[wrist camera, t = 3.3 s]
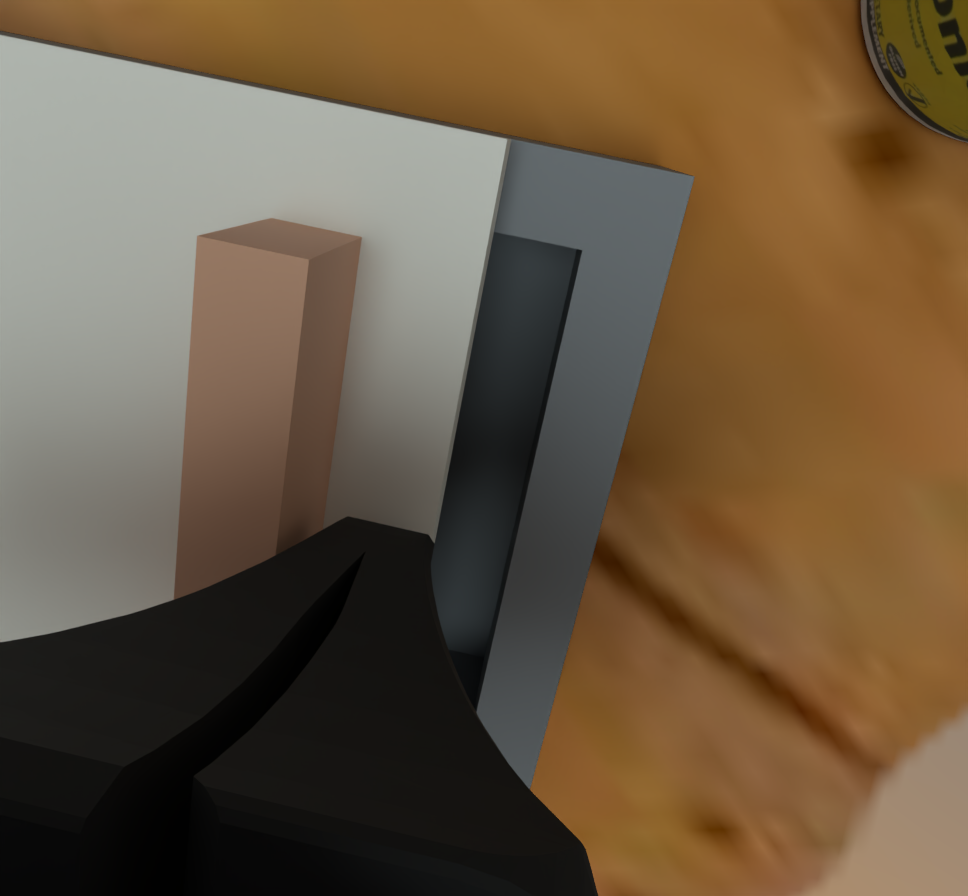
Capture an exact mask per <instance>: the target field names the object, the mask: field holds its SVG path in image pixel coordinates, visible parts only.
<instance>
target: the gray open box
mask: <svg viewBox="0 0 968 896" xmlns="http://www.w3.org/2000/svg"><path fill="white" fill-rule="evenodd" d="M0 35H5V36H10V37H15V38H20V39H25V40H29V41H34V42H39V43H44V44H49V45H54V46H59V47H64V48H68V49H73V50H78V51H83V52H88V53H93V54H98V55H103V56H107V57H112V58H117V59H122V60H127V61H132V62H137V63H142V64H146V65H151V66H156V67H161V68H166V69H171V70H176V71H181V72H185V73H190V74H195V75H200V76H205V77H210V78H215V79H220V80H224V81H229V82H234V83H239V84H244V85H249V86H254V87H258V88H263V89H268V90H273V91H278V92H283V93H288V94H293V95H297V96H302V97H307V98H312V99H317V100H322V101H327V102H332V103H336V104H341V105H346V106H351V107H356V108H361V109H366V110H371V111H375V112H380V113H385V114H390V115H395V116H400V117H405V118H410V119H414V120H419V121H424V122H429V123H434V124H439V125H444V126H449V127H453V128H458V129H463V130H468V131H473V132H478V133H483V134H488V135H492V136H497V137H502V138H507V139H511V144H510V150H509V155H508V160H507V165H506V171H505V176H504V181H503V187H502V192H501V197H500V202H499V208H498V213H497V218H496V223H495V229H494V234H493V239H492V244H491V250H490V255H489V260H488V265H487V271H486V276H485V281H484V286H483V292H482V297H481V302H480V308H479V313H478V318H477V323H476V329H475V334H474V339H473V344H472V350H471V355H470V360H469V365H468V371H467V376H466V381H465V386H464V392H463V397H462V402H461V407H460V413H459V418H458V423H457V429H456V434H455V439H454V444H453V450H452V455H451V460H450V465H449V471H448V476H447V481H446V486H445V492H444V497H443V502H442V507H441V513H440V518H439V523H438V528H437V534H436V539H435V545H434V550H433V555H432V560H431V576H432V586H433V592H434V597H435V602H436V607H437V612H438V617H439V620H440V624H441V628H442V631H443V635H444V638H445V641H446V644H447V647H448V650H449V653H450V656H451V659H452V661H453V664H454V666H455V669H456V671H457V674H458V676H459V678H460V681H461V683H462V685H463V687H464V689H465V692H466V694H467V696H468V698H469V700H470V702H471V703H472V705H473V707H474V709H475V711H476V713H477V715H478V717H479V719H480V720H481V722H482V724H483V726H484V727H485V729H486V730H487V732H488V733H489V735H490V736H491V738H492V739H493V741H494V742H495V744H496V745H497V747H498V748H499V750H500V751H501V753H502V754H503V756H504V757H505V759H506V761H507V762H508V764H509V765H510V766H511V767H512V769H513V770H514V771H515V772H516V773H517V775H518V776H519V777H520V778H521V780H522V781H523V782H524V783H525V785H526V786H527V787H528V788H529V789H530V787H531V783H532V779H533V776H534V772H535V768H536V764H537V761H538V757H539V753H540V750H541V746H542V742H543V738H544V735H545V731H546V727H547V724H548V720H549V716H550V712H551V709H552V705H553V701H554V698H555V694H556V690H557V686H558V683H559V679H560V675H561V671H562V668H563V664H564V660H565V657H566V653H567V649H568V645H569V642H570V638H571V634H572V631H573V627H574V623H575V619H576V616H577V612H578V608H579V605H580V601H581V597H582V593H583V590H584V586H585V582H586V578H587V575H588V571H589V567H590V564H591V560H592V556H593V552H594V549H595V545H596V541H597V538H598V534H599V530H600V526H601V523H602V519H603V515H604V512H605V508H606V504H607V500H608V497H609V493H610V489H611V485H612V482H613V478H614V474H615V471H616V467H617V463H618V459H619V456H620V452H621V448H622V445H623V441H624V437H625V433H626V430H627V426H628V422H629V419H630V415H631V411H632V407H633V404H634V400H635V396H636V392H637V389H638V385H639V381H640V378H641V374H642V370H643V366H644V363H645V359H646V355H647V352H648V348H649V344H650V340H651V337H652V333H653V329H654V326H655V322H656V318H657V314H658V311H659V307H660V303H661V299H662V296H663V292H664V288H665V285H666V281H667V277H668V273H669V270H670V266H671V262H672V259H673V255H674V251H675V247H676V244H677V240H678V236H679V233H680V229H681V225H682V221H683V218H684V214H685V210H686V206H687V203H688V199H689V195H690V192H691V188H692V184H693V180H694V176H691V175H688V174H684V173H681V172H678V171H675V170H672V169H668V168H665V167H662V166H658V165H653V164H648V163H643V162H638V161H633V160H628V159H623V158H619V157H614V156H609V155H604V154H599V153H594V152H589V151H584V150H580V149H575V148H570V147H565V146H560V145H555V144H550V143H545V142H540V141H536V140H531V139H526V138H521V137H516V136H511V135H506V134H501V133H497V132H492V131H487V130H482V129H477V128H472V127H467V126H462V125H458V124H453V123H448V122H443V121H438V120H433V119H428V118H423V117H419V116H414V115H409V114H404V113H399V112H394V111H389V110H384V109H380V108H375V107H370V106H365V105H360V104H355V103H350V102H345V101H341V100H336V99H331V98H326V97H321V96H316V95H311V94H306V93H301V92H297V91H292V90H287V89H282V88H277V87H272V86H267V85H262V84H258V83H253V82H248V81H243V80H238V79H233V78H228V77H223V76H219V75H214V74H209V73H204V72H199V71H194V70H189V69H184V68H180V67H175V66H170V65H165V64H160V63H155V62H150V61H145V60H141V59H136V58H131V57H126V56H121V55H116V54H111V53H106V52H101V51H97V50H92V49H87V48H82V47H77V46H72V45H67V44H62V43H58V42H53V41H48V40H43V39H38V38H33V37H28V36H23V35H19V34H14V33H9V32H4V31H0Z"/></svg>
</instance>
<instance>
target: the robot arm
mask: <svg viewBox="0 0 968 896" xmlns="http://www.w3.org/2000/svg"><path fill="white" fill-rule="evenodd" d="M434 545H435V544H434V542H433V541H432V539H431V538H430V536H429V535H428V534H424V533H420V532H415V531H411V530H407V529H402V528H398V527H393V526H389V525H384V524H380V523H376V522H371V521H367V520H362V519H358V518H354V517H349V516H347V517H345V518H343V519H341V520H339V521H337V522H335V523H334V524H332V525H330V526H328V527H326V528H325V529H323V530H321V531H319V532H318V533H316V534H314V535H312V536H310V537H309V538H307V539H305V540H303V541H301V542H300V543H298V544H296V545H294V546H292V547H290V548H288V549H286V550H285V551H283V552H281V553H279V554H277V555H275V556H273V557H271V558H269V559H268V560H266V561H264V562H261V563H259V564H257V565H255V566H253V567H251V568H248V569H246V570H244V571H242V572H240V573H237V574H235V575H233V576H231V577H229V578H226V579H224V580H222V581H220V582H218V583H215V584H213V585H211V586H209V587H206V588H204V589H201V590H199V591H196V592H194V593H191V594H188V595H185V596H183V597H180V598H177V599H174V600H171V601H168V602H165V603H162V604H159V605H156V606H153V607H150V608H147V609H144V610H141V611H138V612H134V613H131V614H128V615H124V616H120V617H116V618H112V619H108V620H103V621H99V622H95V623H91V624H87V625H83V626H79V627H75V628H71V629H67V630H63V631H59V632H54V633H49V634H44V635H39V636H33V637H28V638H22V639H17V640H11V641H5V642H0V896H598V894H597V890H596V886H595V882H594V878H593V874H592V870H591V867H590V863H589V860H588V856H587V853H586V849H585V848H584V846H583V844H582V843H581V841H580V840H579V839H578V838H577V837H576V836H575V835H574V834H573V833H572V832H571V831H570V830H569V829H568V828H567V827H566V826H565V825H564V824H563V823H562V822H561V821H560V820H559V819H558V818H557V817H556V816H555V815H554V814H553V813H552V812H551V811H550V810H549V809H548V808H547V807H546V806H545V805H544V804H543V803H542V802H541V801H540V800H539V799H538V798H537V797H536V796H535V795H534V794H533V793H532V792H531V791H530V789H529V788H528V787H527V786H526V785H525V783H524V782H523V781H522V780H521V778H520V777H519V776H518V775H517V773H516V772H515V771H514V770H513V769H512V767H511V766H510V765H509V764H508V762H507V761H506V759H505V757H504V756H503V754H502V753H501V751H500V750H499V748H498V747H497V745H496V744H495V742H494V741H493V739H492V738H491V736H490V735H489V733H488V732H487V730H486V729H485V727H484V726H483V724H482V722H481V720H480V719H479V717H478V715H477V713H476V711H475V709H474V707H473V705H472V703H471V702H470V700H469V698H468V696H467V694H466V692H465V689H464V687H463V685H462V683H461V681H460V678H459V676H458V674H457V671H456V669H455V666H454V664H453V661H452V659H451V656H450V653H449V650H448V647H447V644H446V641H445V638H444V635H443V631H442V628H441V624H440V620H439V617H438V612H437V607H436V602H435V597H434V592H433V586H432V576H431V560H432V555H433V550H434Z"/></svg>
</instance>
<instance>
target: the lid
mask: <svg viewBox="0 0 968 896" xmlns="http://www.w3.org/2000/svg"><path fill="white" fill-rule="evenodd" d="M510 144H511V139H507V138H502V137H497V136H492V135H488V134H483V133H478V132H473V131H468V130H463V129H458V128H453V127H449V126H444V125H439V124H434V123H429V122H424V121H419V120H414V119H410V118H405V117H400V116H395V115H390V114H385V113H380V112H375V111H371V110H366V109H361V108H356V107H351V106H346V105H341V104H336V103H332V102H327V101H322V100H317V99H312V98H307V97H302V96H297V95H293V94H288V93H283V92H278V91H273V90H268V89H263V88H258V87H254V86H249V85H244V84H239V83H234V82H229V81H224V80H220V79H215V78H210V77H205V76H200V75H195V74H190V73H185V72H181V71H176V70H171V69H166V68H161V67H156V66H151V65H146V64H142V63H137V62H132V61H127V60H122V59H117V58H112V57H107V56H103V55H98V54H93V53H88V52H83V51H78V50H73V49H68V48H64V47H59V46H54V45H49V44H44V43H39V42H34V41H29V40H25V39H20V38H15V37H10V36H5V35H0V642H5V641H11V640H17V639H22V638H28V637H33V636H39V635H44V634H49V633H54V632H59V631H63V630H67V629H71V628H75V627H79V626H83V625H87V624H91V623H95V622H99V621H103V620H108V619H112V618H116V617H120V616H124V615H128V614H131V613H134V612H138V611H141V610H144V609H147V608H150V607H153V606H156V605H159V604H162V603H165V602H168V601H171V600H174V599H177V598H180V597H183V596H185V595H188V594H191V593H194V592H196V591H199V590H201V589H204V588H206V587H209V586H211V585H213V584H215V583H218V582H220V581H222V580H224V579H226V578H229V577H231V576H233V575H235V574H237V573H240V572H242V571H244V570H246V569H248V568H251V567H253V566H255V565H257V564H259V563H261V562H264V561H266V560H268V559H269V558H271V557H273V556H275V555H277V554H279V553H281V552H283V551H285V550H286V549H288V548H290V547H292V546H294V545H296V544H298V543H300V542H301V541H303V540H305V539H307V538H309V537H310V536H312V535H314V534H316V533H318V532H319V531H321V530H323V529H325V528H326V527H328V526H330V525H332V524H334V523H335V522H337V521H339V520H341V519H343V518H345V517H347V516H349V517H354V518H358V519H362V520H367V521H371V522H376V523H380V524H384V525H389V526H393V527H398V528H402V529H407V530H411V531H415V532H420V533H424V534H428V535H429V536H430V538H431V539H432V541H433V542H434V544H435V539H436V534H437V528H438V523H439V518H440V513H441V507H442V502H443V497H444V492H445V486H446V481H447V476H448V471H449V465H450V460H451V455H452V450H453V444H454V439H455V434H456V429H457V423H458V418H459V413H460V407H461V402H462V397H463V392H464V386H465V381H466V376H467V371H468V365H469V360H470V355H471V350H472V344H473V339H474V334H475V329H476V323H477V318H478V313H479V308H480V302H481V297H482V292H483V286H484V281H485V276H486V271H487V265H488V260H489V255H490V250H491V244H492V239H493V234H494V229H495V223H496V218H497V213H498V208H499V202H500V197H501V192H502V187H503V181H504V176H505V171H506V165H507V160H508V155H509V150H510Z"/></svg>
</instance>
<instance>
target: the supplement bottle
mask: <svg viewBox="0 0 968 896" xmlns="http://www.w3.org/2000/svg"><path fill="white" fill-rule="evenodd" d="M861 19H862V27H863V33H864V38H865V42H866V47H867V50H868V53H869V56H870V59H871V62H872V64H873V66H874V69H875V71H876V73H877V75H878V77H879V79H880V80H881V82H882V84H883V85H884V87H885V89H886V90H887V92H888V93H889V94H890V95H891V97H892V98H893V99H894V100H895V101H896V102H897V104H898V105H899V106H900V107H901V108H902V109H903V110H904V111H906V112H907V113H908V114H909V115H910V116H911V117H913V118H914V119H916V120H917V121H918V122H920V123H921V124H923V125H924V126H926V127H928V128H929V129H931V130H933V131H936V132H938V133H940V134H942V135H945V136H947V137H950V138H953V139H956V140H958V141H963V142H967V143H968V0H861Z"/></svg>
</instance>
